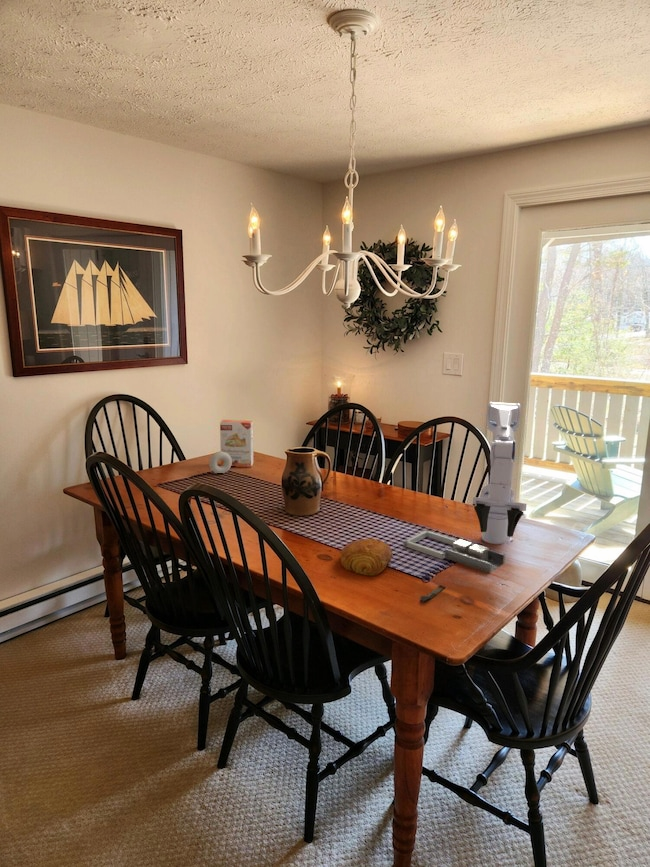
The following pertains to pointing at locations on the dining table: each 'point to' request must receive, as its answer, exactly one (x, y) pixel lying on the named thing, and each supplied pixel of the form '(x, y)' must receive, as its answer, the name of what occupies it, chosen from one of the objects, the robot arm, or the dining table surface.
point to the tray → (412, 544)
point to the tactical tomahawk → (432, 593)
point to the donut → (218, 456)
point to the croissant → (366, 556)
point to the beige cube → (461, 546)
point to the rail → (477, 560)
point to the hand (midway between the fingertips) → (496, 534)
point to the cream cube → (478, 552)
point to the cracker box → (237, 441)
